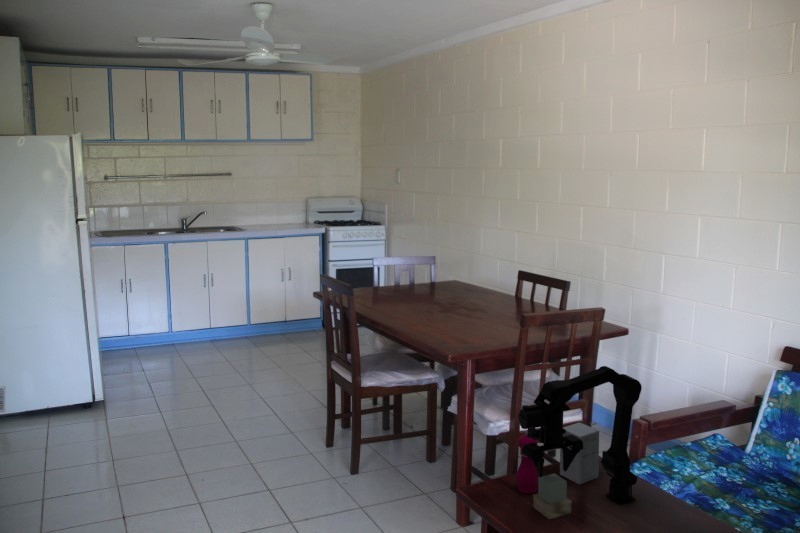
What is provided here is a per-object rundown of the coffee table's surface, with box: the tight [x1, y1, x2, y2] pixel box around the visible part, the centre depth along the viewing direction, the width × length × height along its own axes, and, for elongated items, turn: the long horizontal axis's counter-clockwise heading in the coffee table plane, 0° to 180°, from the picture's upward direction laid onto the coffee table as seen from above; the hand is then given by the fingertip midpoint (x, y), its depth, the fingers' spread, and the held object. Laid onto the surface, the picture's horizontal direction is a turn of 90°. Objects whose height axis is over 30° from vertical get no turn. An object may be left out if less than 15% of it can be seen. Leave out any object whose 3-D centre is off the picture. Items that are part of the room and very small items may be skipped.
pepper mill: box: [515, 430, 539, 495], centre depth 217 cm, size 7×7×20 cm
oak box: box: [532, 493, 573, 520], centre depth 205 cm, size 8×8×4 cm
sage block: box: [537, 473, 568, 504], centre depth 204 cm, size 6×6×6 cm
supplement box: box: [559, 422, 600, 485], centre depth 226 cm, size 10×9×17 cm
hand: (552, 473), depth 203 cm, fingers open, 9 cm apart
